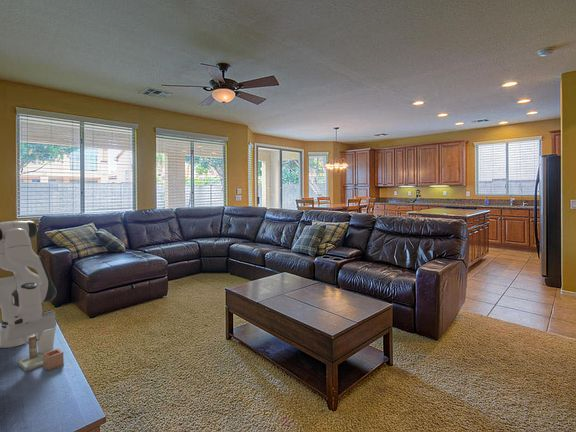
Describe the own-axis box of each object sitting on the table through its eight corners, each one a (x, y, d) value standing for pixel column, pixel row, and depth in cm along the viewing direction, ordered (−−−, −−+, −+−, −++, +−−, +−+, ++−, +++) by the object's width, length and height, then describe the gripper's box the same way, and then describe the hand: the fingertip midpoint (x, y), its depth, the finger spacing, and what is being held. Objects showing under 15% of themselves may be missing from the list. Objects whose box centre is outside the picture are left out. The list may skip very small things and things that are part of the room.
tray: (18, 363, 159) (17, 360, 159) (39, 356, 167) (39, 353, 167) (26, 371, 153) (26, 368, 153) (48, 363, 160) (48, 360, 160)
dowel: (28, 358, 159) (27, 337, 158) (35, 355, 161) (34, 335, 161) (30, 359, 157) (29, 338, 156) (38, 357, 160) (37, 336, 159)
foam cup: (44, 355, 168) (43, 332, 167) (30, 353, 170) (29, 330, 169) (60, 347, 177) (59, 324, 176) (47, 345, 179) (46, 323, 178)
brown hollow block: (43, 367, 157) (43, 353, 156) (58, 361, 162) (57, 348, 162) (48, 371, 153) (48, 357, 153) (63, 365, 159) (63, 352, 158)
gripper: (52, 308, 168) (54, 333, 169) (3, 320, 151) (4, 348, 152) (57, 310, 165) (58, 336, 166) (7, 323, 148) (8, 351, 149)
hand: (32, 342), depth 159 cm, fingers closed on dowel, 3 cm apart
